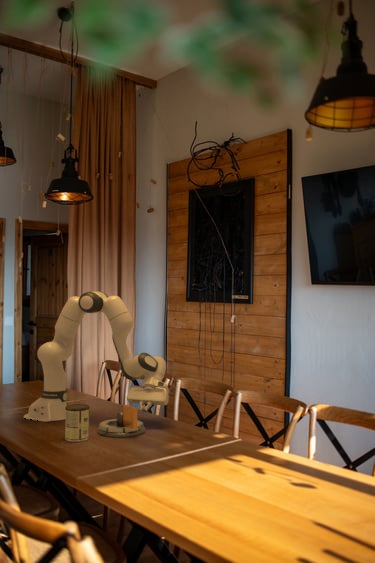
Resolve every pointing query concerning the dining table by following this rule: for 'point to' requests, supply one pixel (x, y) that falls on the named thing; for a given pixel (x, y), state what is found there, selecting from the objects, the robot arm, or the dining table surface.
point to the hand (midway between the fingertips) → (143, 410)
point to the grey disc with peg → (120, 424)
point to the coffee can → (77, 422)
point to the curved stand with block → (128, 421)
